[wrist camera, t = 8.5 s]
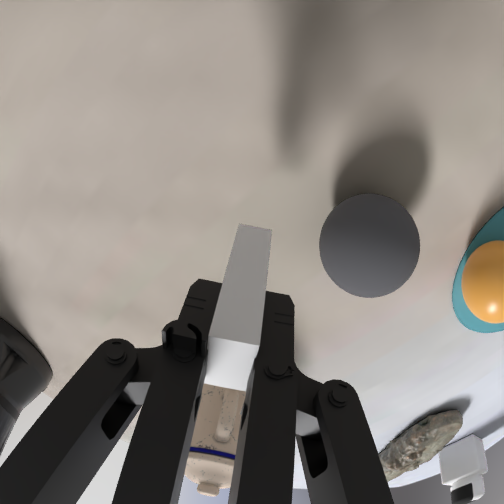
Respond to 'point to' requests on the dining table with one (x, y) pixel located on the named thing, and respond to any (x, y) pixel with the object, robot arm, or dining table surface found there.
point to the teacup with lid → (215, 439)
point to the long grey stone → (419, 443)
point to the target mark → (495, 229)
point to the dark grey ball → (369, 245)
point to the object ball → (485, 282)
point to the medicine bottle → (464, 469)
